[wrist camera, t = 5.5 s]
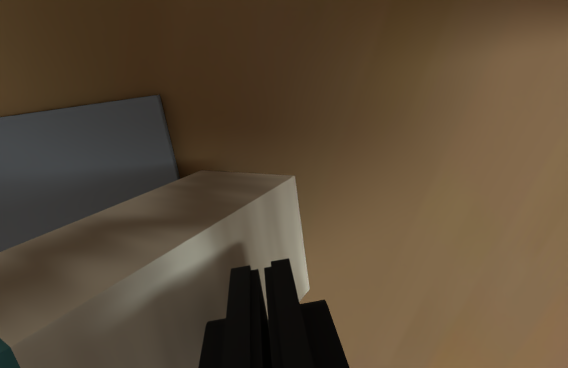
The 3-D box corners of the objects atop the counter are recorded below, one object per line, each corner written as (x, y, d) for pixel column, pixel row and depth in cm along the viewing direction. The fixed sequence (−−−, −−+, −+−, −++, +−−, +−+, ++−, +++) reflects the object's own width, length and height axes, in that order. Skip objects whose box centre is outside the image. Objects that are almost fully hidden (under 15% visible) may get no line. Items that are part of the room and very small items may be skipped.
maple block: (295, 175, 12) (-74, 398, 5) (309, 289, 14) (50, 599, 6) (201, 170, 15) (-129, 303, 7) (222, 265, 17) (-33, 459, 9)
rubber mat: (159, 94, 14) (157, 95, 14) (215, 326, 18) (214, 331, 17) (-192, 144, 13) (-205, 146, 13) (-58, 374, 17) (-65, 381, 17)
